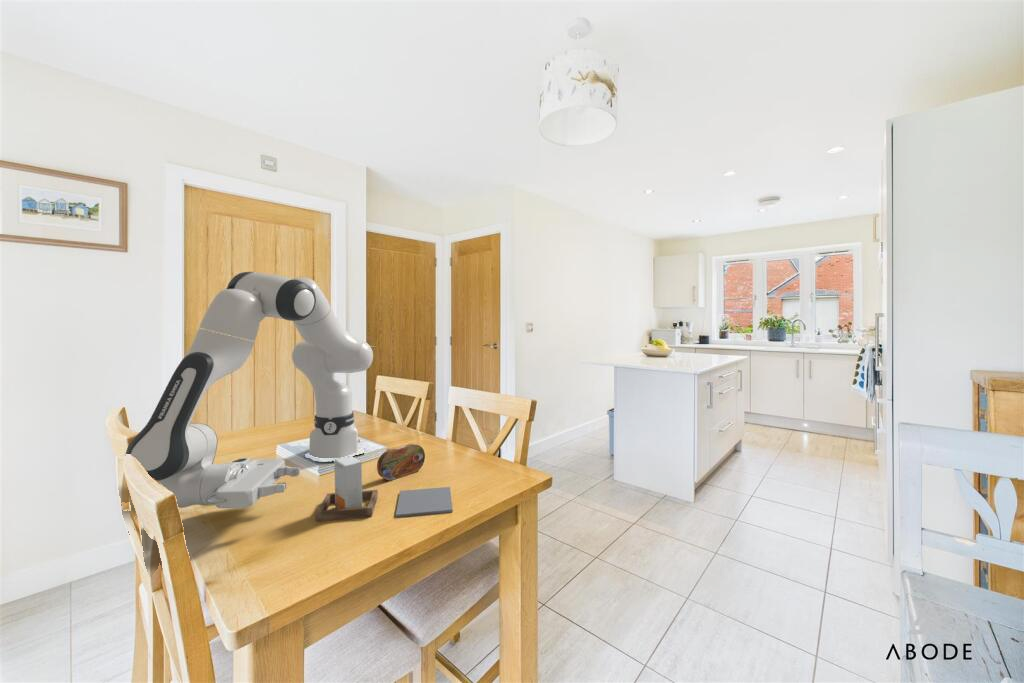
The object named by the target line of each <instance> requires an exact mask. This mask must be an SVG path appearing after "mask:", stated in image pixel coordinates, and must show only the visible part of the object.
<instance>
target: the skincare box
mask: <svg viewBox="0 0 1024 683" xmlns="http://www.w3.org/2000/svg"><path fill="white" fill-rule="evenodd" d="M362 462H363V461H361V460H359V459H358V458H356V457H352V456H347V457H343V458H339V459H335V462H334V493H335V509H344V508H355V507H363V500H362V491H363V479H362V478H363V471H362V470H363V469H362V466H363V465H362V464H363V463H362Z"/></svg>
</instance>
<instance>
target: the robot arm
mask: <svg viewBox="0 0 1024 683" xmlns="http://www.w3.org/2000/svg"><path fill="white" fill-rule="evenodd" d="M265 318H274V319H281V320H286V321H290V322H291V321H292V322H293V324H294V327H296V329H297V331H298V333H299V335H300V336H301V338H302V340H303V341H300V342H298V343H297V344H296V345H295V347H294V348H293V350H292V353H291V360H292V362H293V365H294V367H295V368H296V369H297V370H298V371H300V372H302V373H303V374H304V376H305V377H306V378H307V380H308V381H309V382H310V384H311V387H312V389H313V393H314V402H315V403H314V405H315V415H314V419H313V422H314V429H313V430H311V432H310V433H309V446H308V447H309V448H308V450H309V451H308V452H309V454H310V455H312V456H314V457H318V458H341V457H345V456H348V455H351V454H353V453H356V452H358V443H360V439H361V438H359V437H358V436H359V434H358V433H359V432H358V429H357V426H356V424H355V414H354V410H353V393H352V389H351V387H349V386H348V385H347V384H345V383H343V382H341V381H340V379H338V377H337V374H338V373H339V374H340V373H341V374H342V373H343V374H354V373H360V372H365V371H367V370H369V368H370V367H371V365H372V363H373V360H374V352H373V349H372V347H371V346H370V344H369V343H368V342H366V341H363V340H361V339H359V338H357V337H355V336H354V335H353V334H351V333H350V332H348V331H347V330H346V329H345V328H344V327H343V326H342V325H341V324H340V322H339V321H338V319H337V317H336V316H335V313H334V311H333V309H332V307H331V304H330V303H329V301H328V299H327V297H326V295H325V293H324V292H323V291H322V289H321V287H319V285H318V284H317V283H316V281H314V279H312V278H309V277H305V276H304V277H303V276H302V277H301V276H300V277H295V278H289V277H286V276H283V275H279V274H269V273H260V272H256V271H243V272H240V273H238V274H235V275H234V276H233V277H232V278H231V279H230V281H229V282H228V284H227V287H226V289H223V290H221V291H219V292H218V293H217V294H216V296H215V297H214V298H213V300H212V301H211V303H210V304H209V306H208V308H207V310H206V311H205V314H204V315H203V318H202V320H201V322H200V324H199V327H198V329H197V331H196V334H195V336H194V339H193V340H192V344H191V345H190V348H189V349H188V351H187V353H186V355H185V356H184V357H183V358H182V359H181V361H180V363H179V364H178V365H177V367H176V369H175V370H174V372H173V374H172V376H171V377H170V379H169V381H168V383H167V385H166V386H165V389H164V391H163V392H162V394H161V397H160V399H159V401H158V403H157V405H156V407H155V409H154V410H153V413H152V414H151V416H150V419H149V420H148V422H147V423H146V424H145V426H144V427H143V428H142V430H140V431H139V432H138V434H136V435H135V437H134V438H133V439H132V440H130V442H129V444H128V446H127V448H126V451H125V455H126V454H131V455H132V456H133V457H135V458H136V459H137V460H138V461H139V462H140V463H141V465H142V466H143V467H144V468H145V470H146V471H147V472H148V474H149V475H150V476H151V477H152V478H154V479H155V480H157V481H158V482H159V483H161V484H162V485H163V486H164V487H166V488H167V489H168V490H170V491H172V492H173V493H174V494H175V496H176V499H177V504H178V507H179V508H178V509H183V508H188V507H191V506H196V505H197V506H203V507H209V506H216V508H218V509H244V508H250V507H252V506H253V505H255V504H256V503H257V501H259V500H260V498H265V497H268V496H271V495H275V494H281V493H284V492H285V491H286V489H287V482H284V481H283V482H277V481H278V480H279V479H280V478H281V477H285V476H289V477H291V478H292V477H293V478H294V477H298V476H299V475H300V474H301V468H300V467H298V466H297V467H296V466H295V467H294V466H293V467H292V466H289V465H286V460H284V459H281V458H256V459H252V460H251V458H250V457H241V458H238V459H236V460H233V461H229V462H223V463H214V462H215V456H216V453H217V448H218V442H219V441H218V435H217V433H216V431H215V430H214V429H213V428H212V427H211V426H209V425H208V424H205V423H202V422H194V423H191V422H192V419H193V418H194V415H195V413H196V411H197V409H198V407H199V405H200V403H201V401H202V398H203V396H204V395H205V393H206V391H208V389H209V388H210V387H211V386H212V385H213V384H215V383H216V382H218V381H219V380H221V379H223V378H224V377H226V376H228V375H230V374H232V373H234V372H236V371H238V370H240V369H241V368H242V367H243V365H245V363H246V361H247V360H248V359H249V357H250V355H251V353H252V350H253V347H254V345H255V342H256V338H257V337H258V336H257V335H258V332H259V328H260V324H261V322H262V321H263V320H265ZM146 439H148V440H149V442H148V440H146Z"/></svg>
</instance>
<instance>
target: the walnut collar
mask: <svg viewBox="0 0 1024 683" xmlns="http://www.w3.org/2000/svg"><path fill="white" fill-rule="evenodd" d="M378 494H379V492H378V489H370V490H362V501H368V505H367V506H362V507H355V508H344V509H338V508H334V509H329V507H330V505H331V504H333V503H335V492H332V493H327V494H326V495H325V497H324V498H323V500H322V502H321V503H320V506H319V507H318V508H317V510H316V512H315V522H327V521H338V520H348V519H349V520H350V519H356V518H357V519H358V518H367V517H368V518H370V517H373V514H374V512H375V507H376V504H377V501H378Z"/></svg>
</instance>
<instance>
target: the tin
mask: <svg viewBox="0 0 1024 683" xmlns="http://www.w3.org/2000/svg"><path fill="white" fill-rule="evenodd" d="M425 458H426V452H425V450H424V448H423V447H422V446H421V445H419V444H415V443H414V444H412V443H409V444H406V445H403V446H399V447H396V448H393V449H389V450H386V451H384V452H383V453H382V454H381V455H380V457H379V458H378V460H377V464H376V470H377V474H378V475H379V476H380V477H381V478H382V479H384V480H385V481H386V480H387V481H388V482H389V481H390V482H391V481H396V480H398V479H401V478H404V477H407V476H409V475H412V474H414V473H417V472H418V471H420V469H422V468H423V465H424V463H425Z"/></svg>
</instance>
